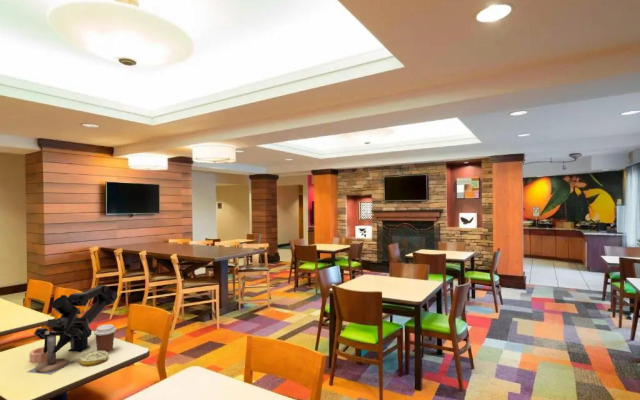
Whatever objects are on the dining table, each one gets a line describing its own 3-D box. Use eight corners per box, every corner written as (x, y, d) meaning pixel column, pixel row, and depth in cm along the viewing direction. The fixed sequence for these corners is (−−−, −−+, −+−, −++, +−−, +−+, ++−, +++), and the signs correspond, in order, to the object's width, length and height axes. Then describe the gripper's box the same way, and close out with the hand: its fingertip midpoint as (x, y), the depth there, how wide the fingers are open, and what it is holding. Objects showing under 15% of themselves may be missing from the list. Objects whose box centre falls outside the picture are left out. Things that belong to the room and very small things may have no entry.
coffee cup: (109, 355, 166) (110, 330, 166) (89, 356, 166) (89, 330, 166) (119, 347, 176) (119, 323, 175) (100, 347, 175) (100, 323, 175)
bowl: (59, 355, 166) (59, 347, 166) (41, 364, 157) (41, 355, 157) (43, 353, 167) (43, 345, 167) (24, 362, 158) (24, 353, 158)
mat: (75, 362, 160) (75, 361, 160) (50, 375, 148) (50, 374, 148) (51, 359, 161) (51, 359, 161) (26, 372, 150) (26, 372, 150)
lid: (73, 361, 159) (73, 332, 159) (50, 373, 148) (51, 342, 148) (51, 359, 161) (52, 330, 161) (28, 371, 150) (28, 340, 150)
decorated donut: (111, 361, 161) (111, 353, 161) (83, 370, 153) (83, 361, 153) (103, 354, 168) (103, 346, 168) (77, 362, 160) (77, 353, 160)
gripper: (37, 310, 158) (16, 345, 147) (79, 310, 159) (61, 345, 148) (50, 321, 166) (31, 355, 155) (90, 321, 166) (74, 355, 156)
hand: (49, 352), depth 153 cm, fingers open, 4 cm apart
